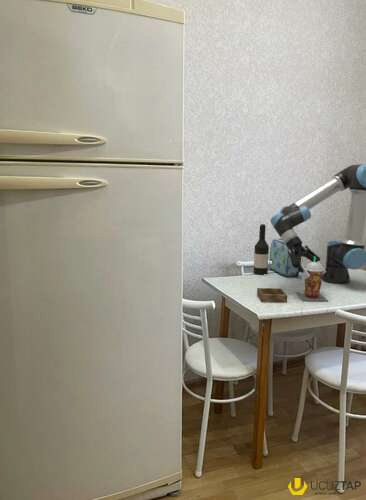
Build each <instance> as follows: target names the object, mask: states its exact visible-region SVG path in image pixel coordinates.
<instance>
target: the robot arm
mask: <svg viewBox="0 0 366 500" xmlns="http://www.w3.org/2000/svg"><path fill="white" fill-rule="evenodd" d="M331 177H332V178H331V179H329V180H328V181H327V182H325V183H323V184H322V185H320V186H319V187H317V188H315V189H314V190H312V191H310V192H308V194H306V195H305V196H303V197H301V198H299V199H297V200H296V201H295V202H293V203H291V204H290V205H288V206H283V207H282V208H281V209H280V211H279V212H278V213H276V214H275V215H273V216H272V217H271V218H270V223H271V225H272V228H273V229H274V230H275V231H276V233H277V234H278V236H279V238H280V239H282V240H283V242H284V243H285V244H286V246H287V248H288V249H289V250H288V253H289V255H290V259H291V262H292V266H293V267H295V269H296V268H298V269H299V271H300V272H299V273H301V275H302V276H303V278H304V280H305V279H307V278H308V277H309V276H310V275H309V274H308V272H307V271H306V269H305V268H306V267H304V265H303V264H302V260H301V261H300V256H301V257H303V258H306V259H307V260H309V261H310V262H314V256H316V257H315V262H317V263H319V264H320V265H321V267H322V269H323V273H322V280H321V281H322V282H323V281H324V282H326V283H329V284H337V285H338V284H339V285H340V284H341V285H342V284H345V285H346V284H349V283H350V282H351V277H350V273H349V269H350V270H359V269H361V268H362V267H364V266H365V265H366V251H365V247H366V245H365V243H364V241H363V238H364V234H365V226H366V163H362V164H361V163H360V164H351V165H349V166H347V167H346V168H343V169H342V170H340V171H339V172H337V173H336V174H334V175H333V176H331ZM346 189H348V190H349V191H350V193H351V197H350V204H349V209H348V214H347V215H348V216H347V223H346V229H345V235H344V239H343V240H329V241H328V242H327V246H326V259H325V267H323V265H322V263H321V262H320V261H321V258H320V257H319V255H317V254H316V253H315V252H313V250H311V249H310V248H309V246H308V245H304V246H303V241H302V239H301V238H300V236H299V235H298V233H297V232H296V231H295V230H294V228H295V227H297V226H298V225H301V224H303V223H305V222H307V221H308V220H310V219H311V218H312V213H311V209H313V208H315V207H316V206H317V205H319V204H321V203H322V202H323V201H325V200H327V199H328V198H330V197H332V196H333V195H335V194H337V193H338V192H343V191H345V190H346Z"/></svg>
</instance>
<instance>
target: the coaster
mask: <svg viewBox="0 0 366 500" xmlns="http://www.w3.org/2000/svg"><path fill="white" fill-rule="evenodd" d="M295 294H296V296H298V298H299V299H300V300H301V301H302V302H307V303H309V302H310V303H311V302H317V303H318V302H319V303H321V302H324V303H326V302H327V303H328V302H329V299H328V298H326V296H324V295H323V294H321V293H320V295H318V298H309V297H306V294H305V292H296V293H295Z"/></svg>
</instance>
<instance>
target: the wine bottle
mask: <svg viewBox="0 0 366 500" xmlns="http://www.w3.org/2000/svg"><path fill="white" fill-rule="evenodd" d="M266 227H267V225H266V224H265V223H260V225H259V235H258V237H259V239H258V241H257V242H256V244H255V245H254V255H253V256H254V257H253V274H255V275H258V276H265V275H264V274H266V275H268V269H269V255H270V247H269V244H268V243H267V241H266Z"/></svg>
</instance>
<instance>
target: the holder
mask: <svg viewBox="0 0 366 500" xmlns="http://www.w3.org/2000/svg"><path fill="white" fill-rule="evenodd" d="M256 296H257V297H258V299H259V301H260V302H261V303H288V294H287V292H286V291H285V290H284V289H283V288H281V287H280V288H279V287H276V288H275V287H271V288H270V287H257V288H256Z"/></svg>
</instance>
